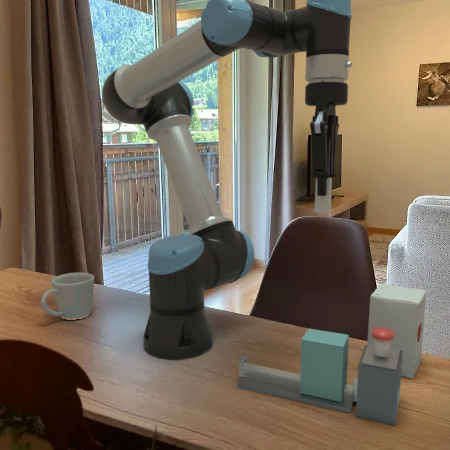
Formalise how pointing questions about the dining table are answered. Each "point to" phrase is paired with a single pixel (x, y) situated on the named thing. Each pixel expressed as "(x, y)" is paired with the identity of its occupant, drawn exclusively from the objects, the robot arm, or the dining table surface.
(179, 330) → the robot arm
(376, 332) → the plunger
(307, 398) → the rail
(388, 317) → the supplement box
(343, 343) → the carriage
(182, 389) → the dining table surface
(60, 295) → the mug
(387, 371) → the grey button housing
